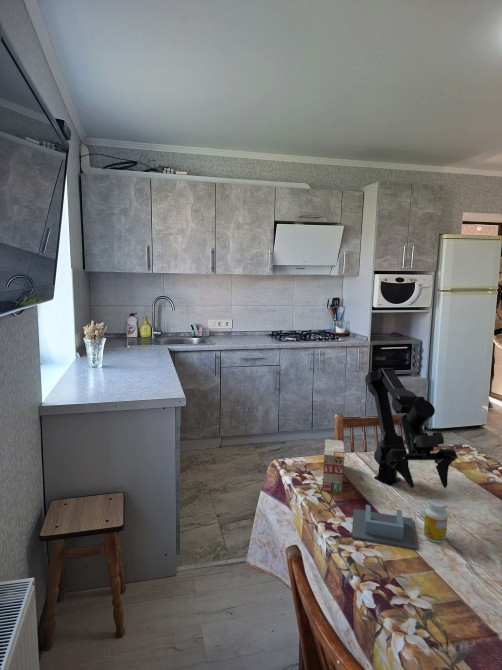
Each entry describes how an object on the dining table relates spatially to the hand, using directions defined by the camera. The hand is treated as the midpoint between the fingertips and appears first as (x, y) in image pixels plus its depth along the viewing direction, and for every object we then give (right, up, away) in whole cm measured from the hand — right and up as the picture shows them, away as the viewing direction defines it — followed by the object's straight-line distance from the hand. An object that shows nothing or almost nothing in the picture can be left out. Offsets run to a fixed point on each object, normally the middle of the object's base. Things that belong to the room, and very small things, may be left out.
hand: (429, 487), depth 118 cm
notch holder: (-12, -11, 0) cm, 17 cm away
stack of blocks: (-20, -7, +30) cm, 37 cm away
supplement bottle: (0, -12, -3) cm, 13 cm away
